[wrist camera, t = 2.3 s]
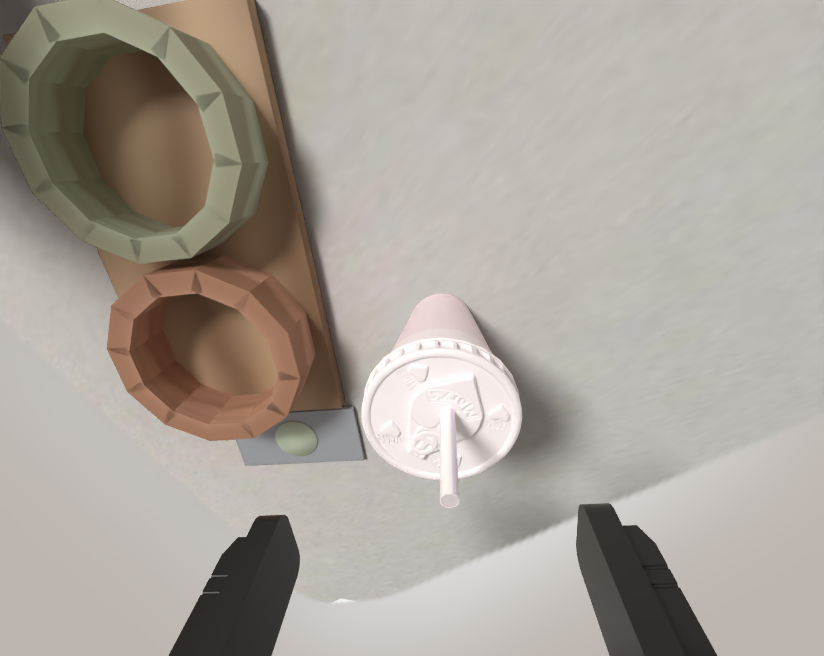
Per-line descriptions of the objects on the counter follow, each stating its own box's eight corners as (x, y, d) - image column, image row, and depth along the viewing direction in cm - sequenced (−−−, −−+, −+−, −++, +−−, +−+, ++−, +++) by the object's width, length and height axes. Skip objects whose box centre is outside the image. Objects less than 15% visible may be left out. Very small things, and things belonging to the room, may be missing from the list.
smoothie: (516, 305, 24) (600, 488, 11) (458, 384, 26) (473, 608, 14) (421, 251, 23) (394, 384, 10) (370, 339, 25) (298, 533, 13)
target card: (353, 406, 28) (352, 409, 27) (364, 456, 29) (363, 460, 29) (229, 414, 29) (226, 417, 28) (247, 462, 30) (244, 466, 30)
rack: (253, -3, 19) (207, -39, 15) (344, 399, 27) (329, 438, 24) (23, 40, 20) (-71, 17, 16) (180, 410, 29) (142, 448, 25)
